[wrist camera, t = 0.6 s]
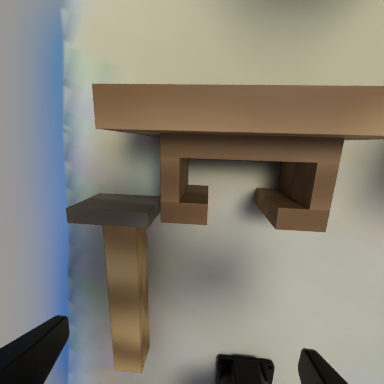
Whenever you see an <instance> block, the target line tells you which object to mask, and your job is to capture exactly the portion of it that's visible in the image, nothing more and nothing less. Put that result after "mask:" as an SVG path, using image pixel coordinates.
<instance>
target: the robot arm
mask: <svg viewBox="0 0 384 384" xmlns="http://www.w3.org/2000/svg"><path fill="white" fill-rule="evenodd" d="M68 337H69V322H68V317H67V316H60V315H58V316H55V317H53V318H51V319H49V320H48V321H46V322H44V323H43V324H41V325H39V326H38V327H36V328H34V329H32V330H31V331H29V332H27V333H26V334H24V335H22V336H21V337H19V338H17V339H16V340H14V341H12V342H11V343H9V344H7V345H5V346H4V347H2V348H0V384H44V382H45V380H46V379H47V377H48V375H49V373H50V371H51V369H52V368H53V366H54V364H55V362H56V360H57V358H58V356H59V355H60V353H61V351H62V349H63V347H64V345H65V344H66V342H67V340H68ZM298 372H299V376H300V380H301V384H348V383H347V382H346V381H345V380H344V379H343V378H342V377H341V376H340V375H339V374H338V373H337V372H336V371H335V370H334V369H333V368H332V367H331V366H330V365H329V364H328V363H327V362H326V361H325V360H324V358H323V357H322V356H321V355H320V354H319V353H318V352H317V351H315V350H313V349H307V348H303V349H302V351H301V355H300V359H299V363H298ZM273 374H274V364H273V362H272V361H269V360H260V359H250V358H241V357H232V356H222V355H220V356H218V357H217V367H216V380H215V384H272V380H273Z"/></svg>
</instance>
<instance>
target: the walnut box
mask: <svg viewBox="0 0 384 384" xmlns="http://www.w3.org/2000/svg"><path fill="white" fill-rule="evenodd" d="M92 89H93V101H94V114H95V126H96V129H104V130H111V131H119V132H126V133H133V134H141V135H148V136H160V179H161V222H164V223H181V224H198V225H207V209H208V186H200V185H188V165H189V158H200V159H228V160H256V161H282V167H281V174H280V181H279V189H266V188H257V194H256V205H257V206H258V207H259V208H260V210H261V211H262V212H263V214H264V215H265V216H266V218H267V219H268V220H269V221H270V223H271V224H272V225H273V227H274V228H275V229H281V230H298V231H314V232H326V227H327V222H328V217H329V212H330V207H331V202H332V197H333V192H334V187H335V182H336V177H337V172H338V167H339V162H340V158H341V153H342V148H343V143H344V140H370V139H384V86H300V85H176V84H92Z"/></svg>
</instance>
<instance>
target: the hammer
mask: <svg viewBox="0 0 384 384" xmlns="http://www.w3.org/2000/svg"><path fill="white" fill-rule="evenodd" d="M160 211H161V196H141V195H121V194H101V193H99V194H97V195H95V196H93V197H90V198H88V199H86V200H84V201H81V202H79V203H77V204H75V205H73V206H70V207H68V208H66V213H67V221H68V223H78V224H94V225H103V233H104V245H105V257H106V269H107V282H108V294H109V306H110V318H111V330H112V342H113V355H114V367H115V370H117V371H125V372H133V373H142V370H143V367H144V363H145V360H146V357H147V353H148V350H149V316H148V280H147V244H146V228H148V227H149V226H150V224H151V223H152V222H153V220H154V219H155V218H156V216H157V215H158V213H159V212H160Z"/></svg>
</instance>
